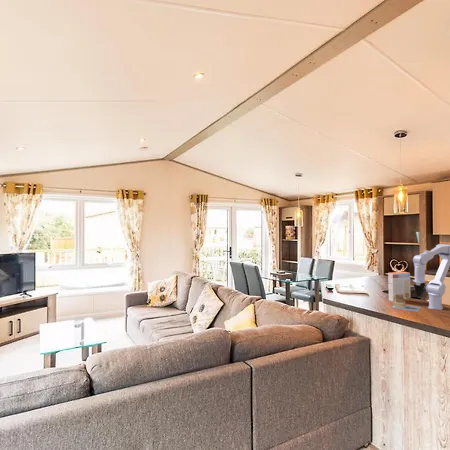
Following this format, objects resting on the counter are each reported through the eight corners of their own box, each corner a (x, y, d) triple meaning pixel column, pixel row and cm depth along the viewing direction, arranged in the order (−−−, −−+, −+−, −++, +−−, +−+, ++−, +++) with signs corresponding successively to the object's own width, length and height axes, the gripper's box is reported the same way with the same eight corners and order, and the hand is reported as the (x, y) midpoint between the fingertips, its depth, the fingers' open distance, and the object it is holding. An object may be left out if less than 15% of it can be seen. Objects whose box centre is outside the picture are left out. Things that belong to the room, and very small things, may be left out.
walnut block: (396, 300, 229) (396, 293, 229) (403, 301, 226) (403, 294, 226) (395, 302, 226) (395, 294, 226) (402, 302, 223) (402, 295, 223)
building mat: (394, 304, 233) (394, 303, 233) (421, 307, 224) (421, 306, 224) (390, 308, 222) (390, 308, 222) (418, 312, 212) (418, 311, 212)
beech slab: (395, 304, 230) (395, 300, 230) (405, 306, 227) (405, 301, 227) (393, 306, 225) (393, 302, 225) (403, 307, 222) (403, 303, 222)
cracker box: (405, 299, 246) (404, 271, 246) (410, 301, 240) (410, 272, 240) (388, 300, 244) (387, 272, 244) (393, 302, 238) (393, 273, 238)
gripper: (414, 272, 224) (414, 292, 224) (410, 274, 212) (410, 295, 213) (426, 273, 220) (426, 293, 220) (423, 275, 208) (423, 297, 208)
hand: (419, 294), depth 216 cm, fingers open, 7 cm apart
